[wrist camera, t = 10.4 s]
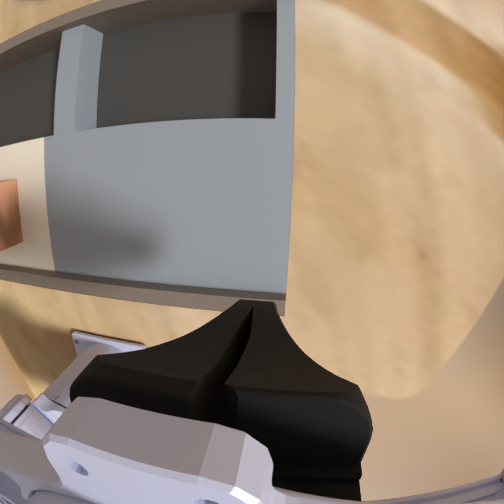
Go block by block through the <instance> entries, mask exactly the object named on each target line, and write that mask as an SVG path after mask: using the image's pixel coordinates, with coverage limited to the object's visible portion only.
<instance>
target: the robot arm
mask: <svg viewBox="0 0 504 504" xmlns="http://www.w3.org/2000/svg"><path fill="white" fill-rule="evenodd" d="M72 339H73V343H74V347H75V350H76V354H77V357H76V358H75V359H74V360H73V361H72V363H71V364H70V365H69V366H68V367H67V368H66V369H65V370H64V371H63V372H62V373H61V374H60V375H59V376H58V377H57V378H56V379H55V380H54V381H53V382H52V384H51V385H50V386H49V387H48V388H47V389H46V390H45V391H44V392H43V393H41V394H40V395H39V396H38V397H37V398H36V399H35V400H34V401H33V403H32V404H31V403H30V401H31V400H32V399H31V398H30V396H29V395H27V394H25V395H22V394H17V395H16V396H14V397H13V398H12V399H11V400H10V401H9V402H8V403H7V404H6V405H5V406H4V407H3V408H2V409H1V410H0V504H504V469H503V470H502V472H501V474H499V475H496V476H493V477H490V478H486V479H483V480H480V481H476V482H473V483H469V484H465V485H461V486H457V487H453V488H449V489H445V490H440V491H435V492H430V493H425V494H419V495H413V496H407V497H400V498H392V499H384V500H373V501H361V494H360V484H359V479H360V478H361V476H362V470H361V461H362V458H363V456H364V454H365V452H366V449H367V447H368V445H369V442H370V440H371V436H372V431H373V427H372V420H371V416H370V412H369V409H368V406H367V404H366V402H365V399H364V397H363V395H362V392H361V390H360V388H359V386H358V385H356V384H354V383H352V382H349V381H347V380H345V379H343V378H341V377H338V376H336V375H334V374H333V373H331V372H329V371H328V370H326V369H324V368H323V367H321V366H320V365H319V364H317V363H316V362H314V361H313V360H312V359H311V358H310V357H308V356H307V355H306V354H305V353H304V352H303V351H302V350H301V349H300V348H299V347H298V345H297V344H296V343H295V342H294V340H293V339H292V338H291V336H290V335H289V333H288V332H287V330H286V328H285V326H284V325H283V323H282V321H281V319H280V317H279V314H278V311H277V308H276V304H275V303H274V302H272V301H257V300H244V299H240V300H238V301H237V302H236V303H234V304H233V305H232V306H231V307H229V308H228V309H227V310H225V311H224V312H223V313H221V314H220V315H219V316H217V317H216V318H214V319H213V320H211V321H210V322H208V323H206V324H205V325H203V326H202V327H200V328H198V329H196V330H194V331H193V332H191V333H188V334H186V335H184V336H182V337H180V338H177V339H175V340H172V341H169V342H166V343H163V344H160V345H157V346H153V347H149V348H146V346H144V345H142V344H137V343H132V342H126V341H121V340H116V339H111V338H106V337H101V336H96V335H91V334H87V333H82V332H78V331H74V332H73V333H72Z"/></svg>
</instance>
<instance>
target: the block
mask: <svg viewBox="0 0 504 504" xmlns="http://www.w3.org/2000/svg"><path fill="white" fill-rule="evenodd" d="M22 242H23V236H22V228H21V220H20V211H19V200H18V186H17V179H14V180H6V181H0V252H1V251H3V250H5V249H8V248H10V247H12V246H15V245H17V244H19V243H22Z"/></svg>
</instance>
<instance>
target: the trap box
mask: <svg viewBox="0 0 504 504" xmlns="http://www.w3.org/2000/svg"><path fill="white" fill-rule="evenodd" d="M294 97H295V0H102V1H99V2H95V3H92V4H90V5H87V6H84V7H81V8H78V9H75V10H73V11H70V12H68V13H65V14H62V15H60V16H58V17H55V18H53V19H50V20H48V21H46V22H43V23H41V24H39V25H37V26H35V27H33V28H30V29H28V30H26V31H24V32H22V33H20V34H18V35H16V36H14V37H12V38H11V39H9V40H7V41H5V42H3V43H1V44H0V181H6V180H14V179H17V186H18V200H19V211H20V220H21V228H22V236H23V242H22V243H19V244H17V245H15V246H12V247H10V248H8V249H5V250H3V251H1V252H0V279H1V280H6V281H11V282H16V283H21V284H26V285H32V286H37V287H43V288H48V289H54V290H60V291H66V292H72V293H78V294H85V295H91V296H98V297H105V298H111V299H119V300H126V301H133V302H141V303H149V304H157V305H166V306H174V307H183V308H193V309H202V310H213V311H223V312H224V311H225V310H227V309H228V308H229V307H231V306H232V305H233V304H234V303H236V302H237V301H238V300H240V299H244V300H257V301H272V302H274V303H275V304H276V308H277V311H278V314H279V316H284V314H285V301H286V286H287V271H288V255H289V237H290V218H291V196H292V171H293V141H294Z"/></svg>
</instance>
